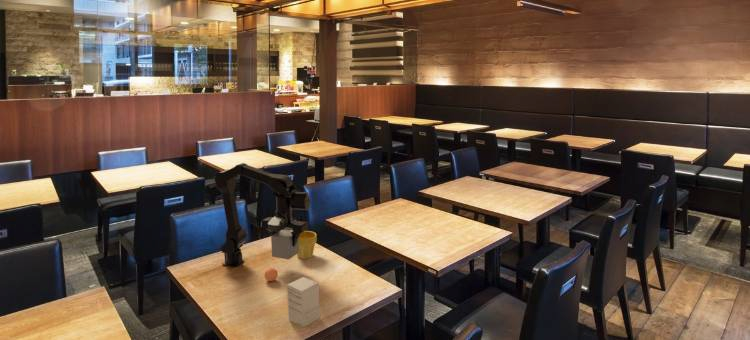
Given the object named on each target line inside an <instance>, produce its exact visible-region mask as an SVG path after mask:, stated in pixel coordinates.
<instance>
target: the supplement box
mask: <svg viewBox="0 0 750 340" xmlns="http://www.w3.org/2000/svg"><path fill="white" fill-rule="evenodd" d="M319 290H320V289H319V282H317V281H315V280H312V279H310V278H307V277H305V276H303V277H301V278H298V279H296V280H294V281H292V282H290V283H287V284H286V291H287V292H286V293H287V294H286V295H287V308H288V309H287V311H288V314H287V315H288V320H289V321H291V322H292V323H293V324H296V325H299V326H300V327H302V328H305V327H307V326H308V325H310V324H312V323H313V322H316V321H317V320H318V319H321V316H320V314H321V313H320V293H319V292H320V291H319Z"/></svg>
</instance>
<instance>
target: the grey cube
mask: <svg viewBox="0 0 750 340" xmlns="http://www.w3.org/2000/svg"><path fill="white" fill-rule="evenodd" d="M292 231H293V230H288V229H281V231H279V232H277V233H275V234H273V235H272V234H271V236H270V238H271V239H270V240H271V241H270V243H271V257H273V258H277V259H285V260H290V259H292V258H293V257H294V256H297V253H299V240H297V243H296V245H295V247H293V239H292V234H291V232H292Z"/></svg>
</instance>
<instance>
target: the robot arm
mask: <svg viewBox="0 0 750 340" xmlns="http://www.w3.org/2000/svg"><path fill="white" fill-rule="evenodd" d="M240 176H243V177H246V178H249V179H251V180H253V181H256V182H258V183H259V182H260V183H261V184H262V183H263V184H265V185H267V186H268V187H269V188H270V189H271V190H273V193H272V194H270V197H271V198H275V201H276V202H275V203H276V204H275V205H276V210H275V211H274V215H273V217H271V216H268V217H266V218H264V219H262V220H261V222H260V227H261V228H265V230H266V231H268V232H270V234H271V236H272V235H273V234H275V233H277V232H279V231H281V230H286V228H290V229H291V231H292V232H291V234H292V239H293V247H295V245H296V243H297V240H298V238H299V236H300V234H301V233H302V232H304V231H308V230H309V224H308V222H307V221H300V220H299V221H297V222H295V223H294V220H295V219H294V218H292V217H293V216H292V213H293V212H294V210H303V211H304V210H305V211H308V210H309V209H310V207H311V198H310V195H309V193H308V192H307V191H303V192H302V191H299V189H298V188H297V186H296V185H295V184H294V183H293V179H292V177H291V176H289V175H287V174H278V173H276V174H275V173H271V172H268V171H266V170H263V169H259V168H257V167H255V166H251V165H248V164H247V163H245V162H241V163H238V164H236V165H235V166H233V167H232V168H230V169H225V170H223V171H220V172H217V173H216V174H215V175H214V182H215V185H216V188H217V191H219V192H220V193H221V198H222V201H223V202H222V203H223V209H224V215H225V220H226V225H227V227H226V232H225V243H223V245H221V247H220V251H221V253H223V254H224V262H223V263H222V265H223V266H228V267H233V268H236V267H237V266H239V265H240V264H242V263H244V262H245V259H243V253H242V249H241V248H243V246H244V243H245V242H246V241H247V238H248V234H247V229H246V227H242V226H241V224H240V220H239V219H240V218H239V212H238V206H237V201H236V196H235V194H236V193H235V189H236V185H237V178H238V177H240Z"/></svg>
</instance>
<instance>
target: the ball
mask: <svg viewBox="0 0 750 340" xmlns="http://www.w3.org/2000/svg"><path fill="white" fill-rule="evenodd" d="M263 275H264V279H265V280H266V281H268V282H274V281H275V280H276V279H277V277H278V275H279V274H278V271H277V269H276V268H273V267H269V268H267V269H266V270H265V271H264V273H263Z"/></svg>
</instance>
